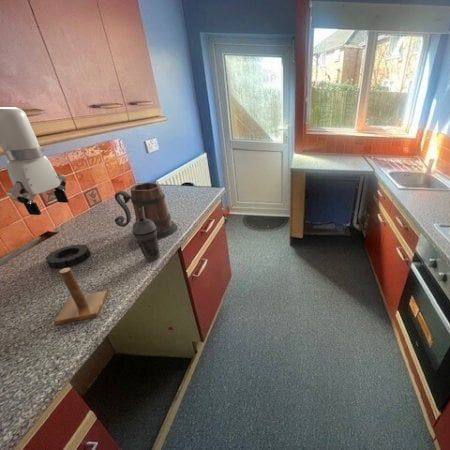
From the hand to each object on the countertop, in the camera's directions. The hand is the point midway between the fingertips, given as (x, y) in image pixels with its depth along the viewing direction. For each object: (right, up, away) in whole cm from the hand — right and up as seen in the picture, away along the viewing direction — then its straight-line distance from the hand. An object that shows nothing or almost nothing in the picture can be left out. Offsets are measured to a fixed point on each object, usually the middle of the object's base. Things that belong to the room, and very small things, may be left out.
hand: (50, 208), depth 80 cm
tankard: (+15, -8, +28) cm, 33 cm away
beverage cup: (+27, -18, +11) cm, 34 cm away
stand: (+21, -29, -11) cm, 37 cm away
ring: (-1, -17, +8) cm, 19 cm away
